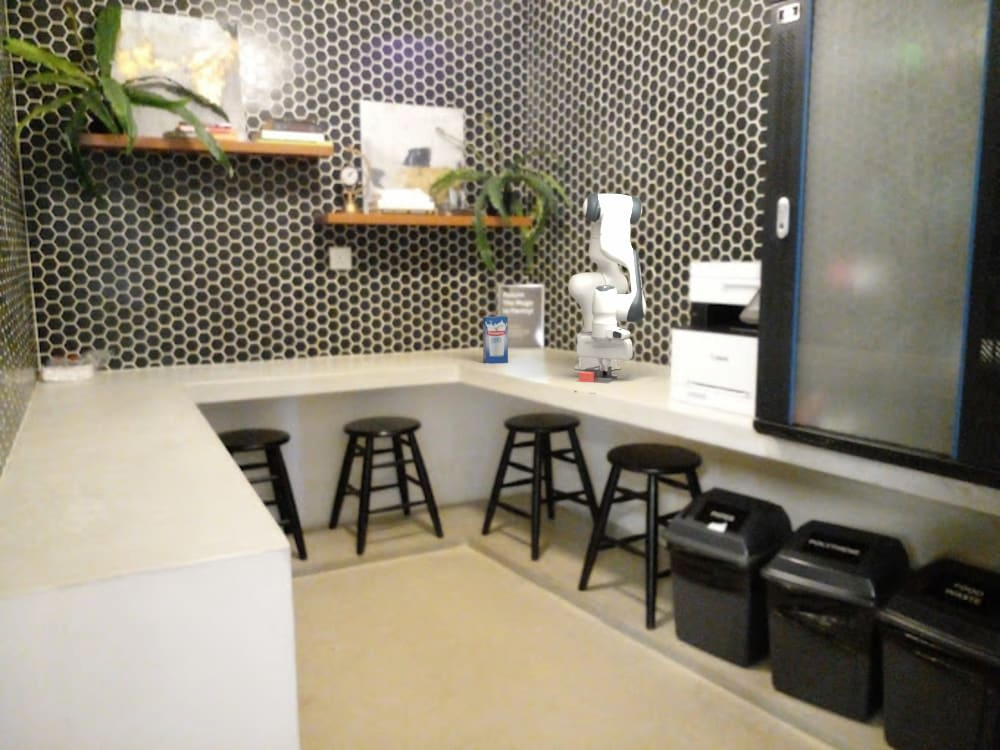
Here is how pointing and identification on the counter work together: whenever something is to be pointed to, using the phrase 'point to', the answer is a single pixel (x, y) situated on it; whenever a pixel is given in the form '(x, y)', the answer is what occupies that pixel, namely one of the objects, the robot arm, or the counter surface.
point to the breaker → (595, 372)
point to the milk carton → (495, 339)
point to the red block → (586, 376)
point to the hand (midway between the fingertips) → (603, 370)
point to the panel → (607, 376)
